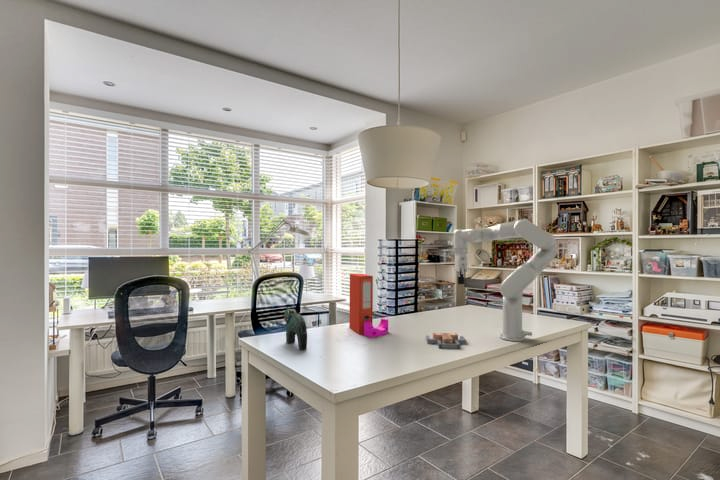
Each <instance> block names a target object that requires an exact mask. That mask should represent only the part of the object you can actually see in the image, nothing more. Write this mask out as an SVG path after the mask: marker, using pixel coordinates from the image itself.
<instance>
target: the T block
mask: <svg viewBox="0 0 720 480" xmlns="http://www.w3.org/2000/svg"><path fill="white" fill-rule="evenodd" d="M432 339H440V341H441V343H448V344H454V339H459V335H458V333H457V332H456V333H455V332H432Z"/></svg>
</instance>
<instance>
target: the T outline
mask: <svg viewBox="0 0 720 480" xmlns="http://www.w3.org/2000/svg"><path fill="white" fill-rule="evenodd" d="M425 340H426V344H429V345H430V344H432V345H436V346H437V347H438V349H444V350H445V349H449V350H452V349H454V350H455V349H457V350H459V349H461V345H467V339H466V338H465V336H463V335H459V338H458V339H454V343H453V344H448V343H441V341H440V339H433V338H431V337H430V336H429V335H428V334H426V335H425Z"/></svg>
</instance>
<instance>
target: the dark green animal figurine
mask: <svg viewBox="0 0 720 480" xmlns="http://www.w3.org/2000/svg"><path fill="white" fill-rule="evenodd" d="M292 307H293V308H290V307H288V306H286V309H285V311H284V313H283V314H284V315H283V316H284V317H283V319H284V321H285V323H286V332H285V339H286V340H285V343H287V342H288V343H287V344H293V343H292V342H295V343H296V338H297V344H298V345H297V346H298V350H299V349H300V350H299V351H304V349H306V350H307V349H308V348H307V347H308V346H307V345H308V333H307V332H308V330H307V324H306V321H305V318H304V317H303V315H301V314H300V313H299V312H297V311H296V305H295V304H292Z"/></svg>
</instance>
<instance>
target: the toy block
mask: <svg viewBox="0 0 720 480" xmlns="http://www.w3.org/2000/svg"><path fill="white" fill-rule="evenodd" d="M388 333H389V318H385V317H384V318H380V322H379V324H378V325H377V327H374V325H373V322H368V321H367V322H364V334H363V336H364V337H367V336H368V338H372V337H373V338H376V336H377V337H380V336H384V335H386V334H388Z"/></svg>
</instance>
